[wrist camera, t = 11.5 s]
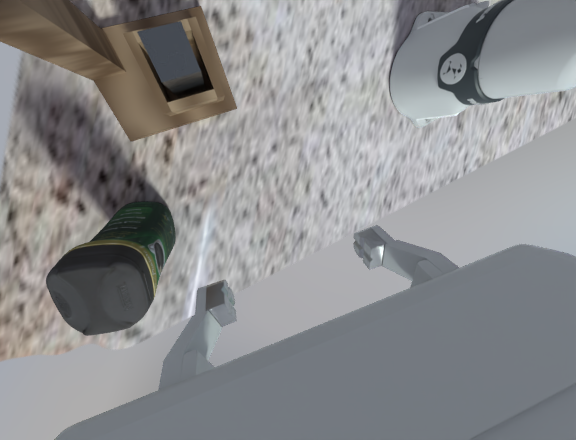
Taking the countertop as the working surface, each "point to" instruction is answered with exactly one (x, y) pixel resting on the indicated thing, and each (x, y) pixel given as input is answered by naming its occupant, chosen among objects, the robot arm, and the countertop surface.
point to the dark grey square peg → (173, 58)
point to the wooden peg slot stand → (120, 61)
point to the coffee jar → (114, 270)
